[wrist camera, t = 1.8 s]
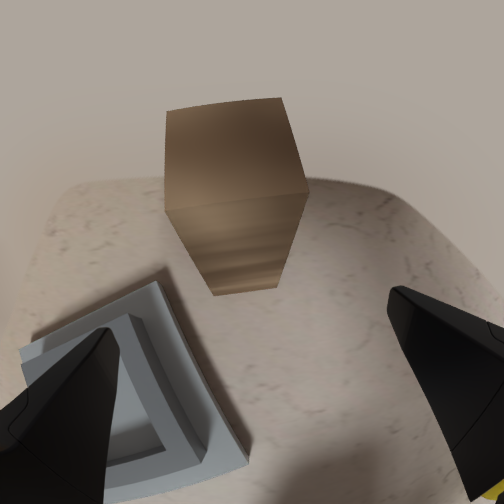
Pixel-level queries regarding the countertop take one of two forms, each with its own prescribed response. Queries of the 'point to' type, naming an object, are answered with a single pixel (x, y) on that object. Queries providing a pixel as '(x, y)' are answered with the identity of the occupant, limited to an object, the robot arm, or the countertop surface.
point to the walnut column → (234, 190)
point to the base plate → (150, 399)
